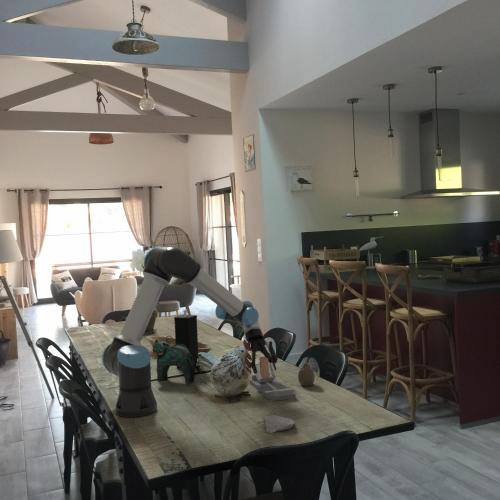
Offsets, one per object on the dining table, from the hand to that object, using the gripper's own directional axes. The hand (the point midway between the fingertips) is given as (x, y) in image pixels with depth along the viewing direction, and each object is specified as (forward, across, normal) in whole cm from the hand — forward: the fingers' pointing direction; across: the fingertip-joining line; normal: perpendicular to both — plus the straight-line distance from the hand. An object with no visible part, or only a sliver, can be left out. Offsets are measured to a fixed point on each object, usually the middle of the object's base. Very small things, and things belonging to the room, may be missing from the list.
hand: (267, 378), depth 228 cm
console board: (+6, 0, +1) cm, 6 cm away
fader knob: (-1, 0, -4) cm, 4 cm away
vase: (+6, -16, 0) cm, 17 cm away
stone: (+32, +12, +26) cm, 44 cm away
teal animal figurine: (-17, +33, -22) cm, 43 cm away
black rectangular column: (-30, +23, -36) cm, 52 cm away
